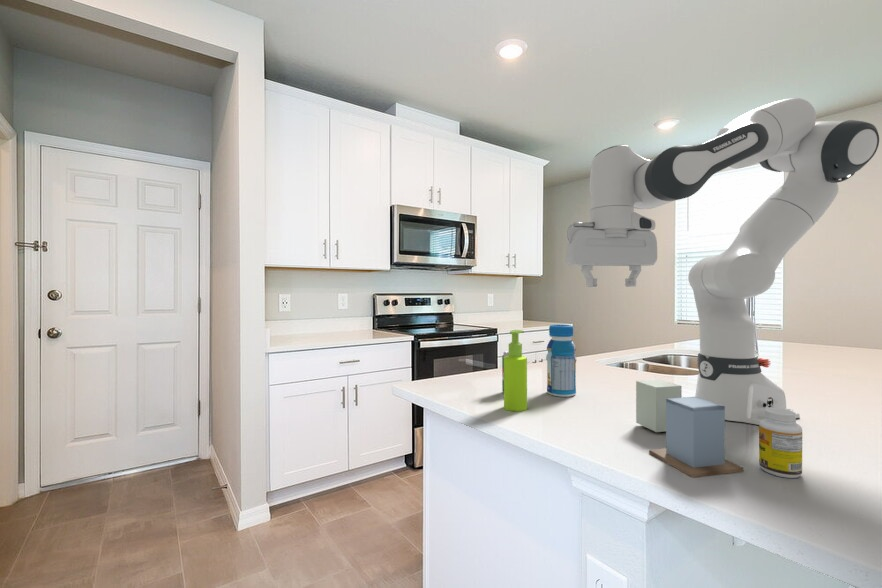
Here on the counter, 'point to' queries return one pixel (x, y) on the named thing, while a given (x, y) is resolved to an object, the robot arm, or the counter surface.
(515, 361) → the soap dispenser
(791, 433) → the supplement bottle
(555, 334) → the beverage bottle
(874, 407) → the counter surface
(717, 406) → the pale blue tall block
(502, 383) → the soda can
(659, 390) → the pale green block
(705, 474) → the post
